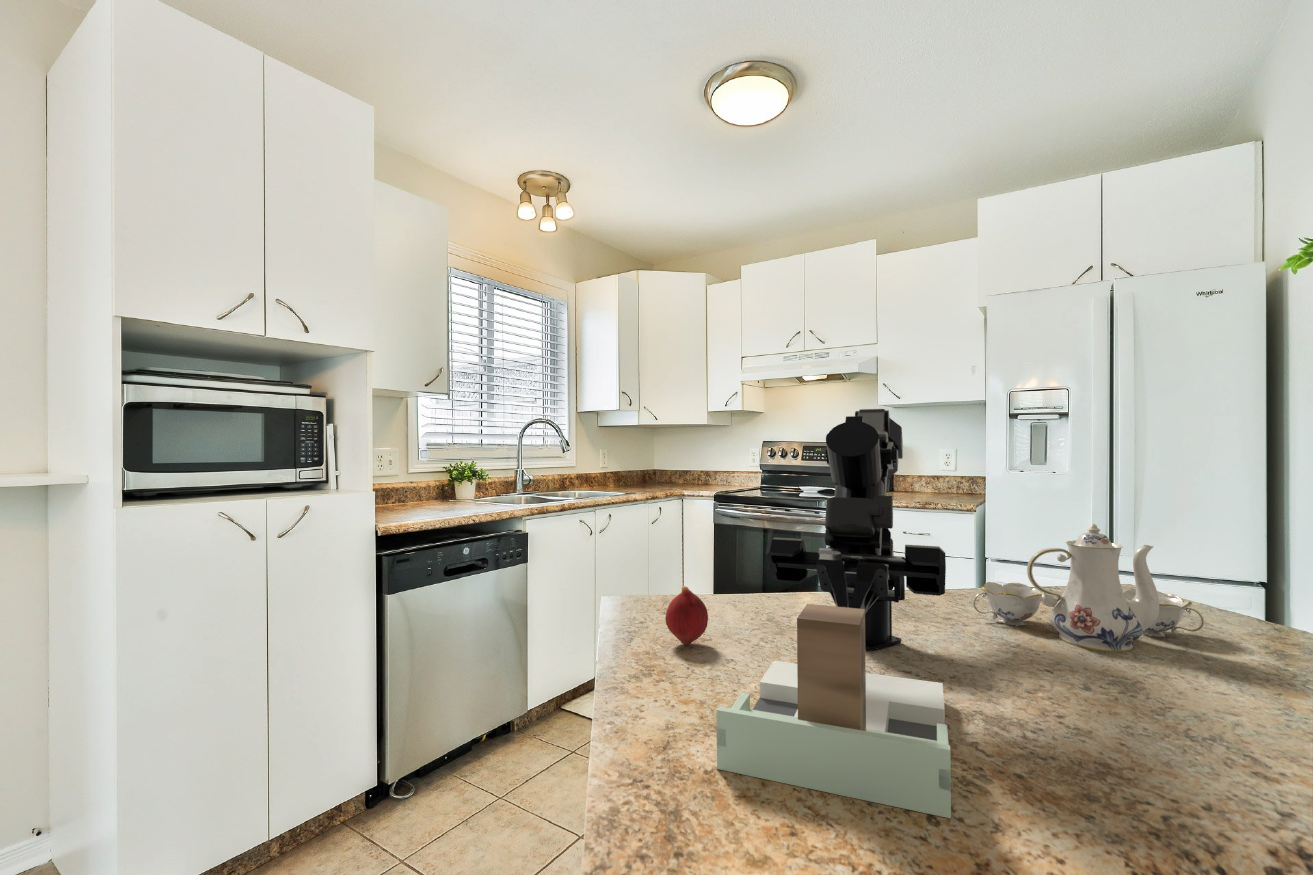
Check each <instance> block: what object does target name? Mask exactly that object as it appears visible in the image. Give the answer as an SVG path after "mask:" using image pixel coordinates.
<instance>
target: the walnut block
mask: <svg viewBox="0 0 1313 875" xmlns="http://www.w3.org/2000/svg"><path fill="white" fill-rule="evenodd" d="M796 643H797V645H796V646H797V647H796V653H797V654H796V655H797V656H796V659H797V662H796V664H797V681H798V720H803V721H809V722H815V723H821V724H827V725H833V726H839V727H844V728H850V729H856V730H862V731H866V673H867V672H866V649H865V609H857V608H847V607H836V605H825V604H815V603H814V604H813V603H806V605H805V606H804V608H803V609H802V611H801V612H800V614H799V615H798V616H797V618H796Z"/></svg>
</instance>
